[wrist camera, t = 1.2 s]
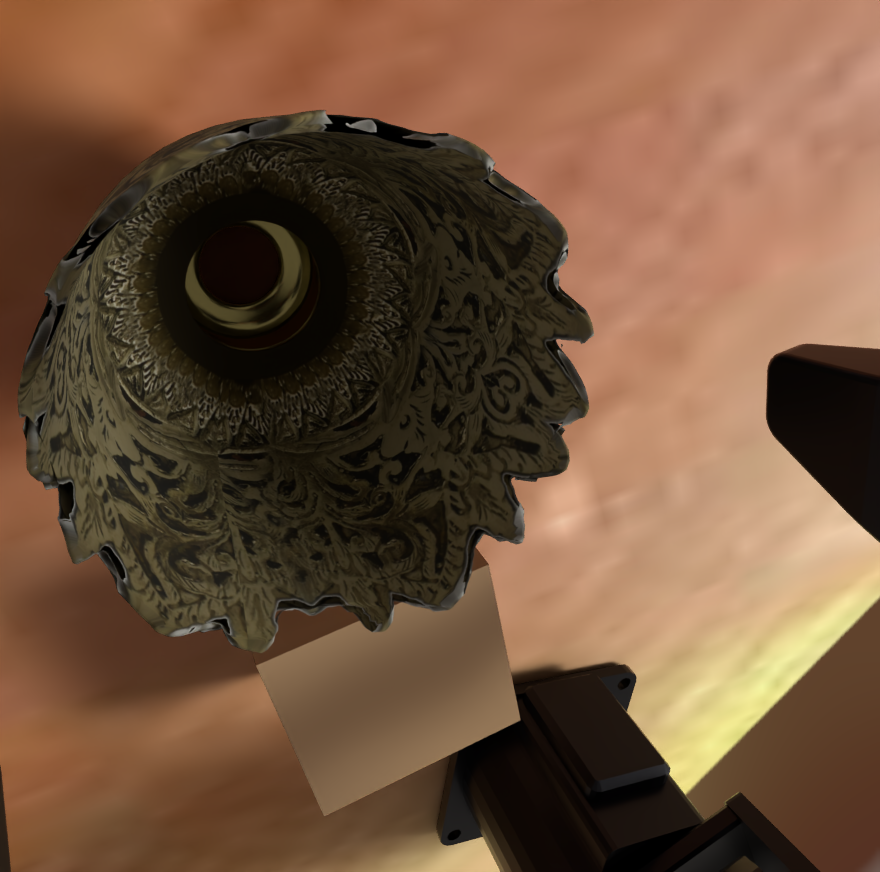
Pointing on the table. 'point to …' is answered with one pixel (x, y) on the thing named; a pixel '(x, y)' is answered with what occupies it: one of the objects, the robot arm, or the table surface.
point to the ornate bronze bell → (303, 375)
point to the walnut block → (388, 689)
